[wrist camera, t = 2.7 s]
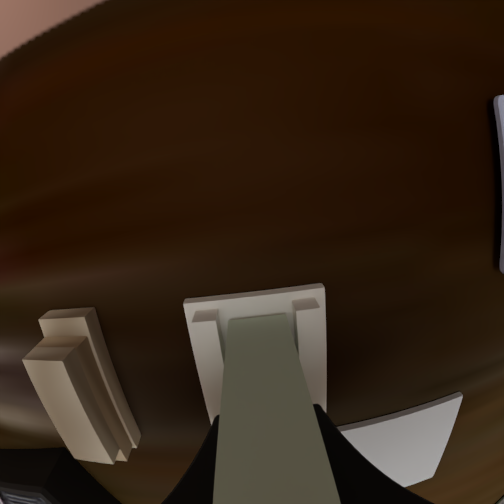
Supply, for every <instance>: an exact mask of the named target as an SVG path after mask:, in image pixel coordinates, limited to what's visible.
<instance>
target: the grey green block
mask: <svg viewBox="0 0 504 504" xmlns="http://www.w3.org/2000/svg"><path fill="white" fill-rule="evenodd" d="M213 504H341V502H340V499H339V495H338V491H337V488H336V484H335V481H334V477H333V474H332V470H331V467H330V463H329V459H328V456H327V452H326V449H325V445H324V442H323V438H322V435H321V431H320V428H319V425H318V421H317V418H316V414H315V411H314V407H313V404H312V400H311V397H310V394H309V390H308V387H307V383H306V380H305V377H304V373H303V370H302V366H301V363H300V360H299V356H298V353H297V350H296V346H295V343H294V340H293V336H292V333H291V330H290V326H289V323H288V320H287V316H286V314H281V315H273V316H265V317H256V318H247V319H238V320H228V329H227V339H226V350H225V361H224V372H223V383H222V394H221V406H220V417H219V429H218V441H217V454H216V467H215V480H214V493H213Z"/></svg>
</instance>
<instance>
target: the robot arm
mask: <svg viewBox="0 0 504 504" xmlns="http://www.w3.org/2000/svg"><path fill="white" fill-rule="evenodd" d="M494 110H495V117H496V124H497V131H498V140H499V150H500V162H501V179H502V236H501V253H500V271H501V272H502V273H503V274H504V95H499V96H496V97H495V98H494ZM313 407H314V411H315V414H316V418H317V421H318V425H319V428H320V431H321V435H322V438H323V442H324V445H325V449H326V452H327V456H328V459H329V463H330V467H331V470H332V474H333V477H334V481H335V484H336V488H337V491H338V495H339V499H340V502H341V504H434V503H432V502H430V501H428V500H426V499H424V498H422V497H420V496H418V495H417V494H415V493H413V492H411V491H409V490H407V489H406V488H404V487H403V486H401V485H400V484H398V483H397V482H395V481H394V480H392V479H391V478H389V477H388V476H387V475H385V474H384V473H383V472H381V471H380V470H379V469H378V468H376V467H375V466H374V465H373V464H372V463H371V462H369V461H368V460H367V459H366V458H365V457H364V456H363V455H362V454H361V453H360V452H359V451H358V450H357V449H356V448H355V447H354V446H353V445H352V444H351V443H350V442H349V441H348V440H347V439H346V438H345V437H344V436H343V434H342V433H341V432H340V431H339V430H338V428H337V427H336V426H335V425H334V424H333V422H332V421H331V420H330V418H329V417H328V416H327V414H326V413H325V411H324V410H323V408H322V407H321V405H319V404H318V403H317V404H313ZM219 417H220V415H217V416H216V417H215V418H214V420H213V423H212V425H211V428H210V430H209V432H208V434H207V436H206V438H205V440H204V442H203V444H202V446H201V448H200V450H199V451H198V453H197V455H196V457H195V458H194V460H193V462H192V463H191V465H190V467H189V468H188V470H187V471H186V472H185V474H184V475H183V477H182V478H181V480H180V481H179V483H178V484H177V485H176V487H175V488H174V489H173V490H172V492H171V493H170V494H169V495H168V497H167V498H166V499H165V500H164V501H163V502H162V503H161V504H213V493H214V480H215V467H216V454H217V441H218V429H219Z"/></svg>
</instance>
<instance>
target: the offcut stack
mask: <svg viewBox="0 0 504 504" xmlns="http://www.w3.org/2000/svg"><path fill="white" fill-rule="evenodd" d="M38 320H39V323H40V326H41V329H42V331H43V334H44V337H45V338H44V339H43V340H42V341H41V342H40V343H38V344H37V345H36V346H35V347H34V348H33V349H32V350H31V351H30V352H29V353H28V354H27V355H26V356H25V357H24V358H23V359H22V360H23V363H24V365H25V367H26V370H27V372H28V374H29V376H30V379H31V381H32V383H33V385H34V387H35V389H36V391H37V393H38V395H39V397H40V399H41V401H42V403H43V405H44V407H45V409H46V411H47V413H48V415H49V416H50V418H51V420H52V422H53V424H54V425H55V427H56V429H57V431H58V432H59V434H60V436H61V437H62V439H63V441H64V442H65V444H66V446H67V447H68V449H69V450H70V452H71V453H72V455H73V457H74V458H75V459H79V460H86V461H92V462H100V463H107V464H114V462H115V460H119V461H127V460H128V457H129V454H130V451H131V448H137V446H138V443H139V440H140V437H141V433H140V431H139V429H138V426H137V424H136V422H135V420H134V417H133V415H132V413H131V410H130V408H129V405H128V403H127V401H126V398H125V396H124V393H123V391H122V388H121V385H120V383H119V380H118V377H117V375H116V372H115V369H114V367H113V364H112V361H111V358H110V355H109V352H108V349H107V346H106V343H105V340H104V337H103V334H102V331H101V327H100V324H99V321H98V317H97V314H96V310H95V307H89V308H76V309H62V310H50V311H48V312H47V313H46V314H45V315H43V316H42V317H41V318H40V319H38Z"/></svg>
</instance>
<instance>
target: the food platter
mask: <svg viewBox="0 0 504 504" xmlns="http://www.w3.org/2000/svg"><path fill="white" fill-rule="evenodd" d="M0 499H1V500H0V504H121V503H120V502H119V501H118V500H117V499H116V498H115V497H113V496H112V495H111V494H110V493H109V492H108V491H107V490H106V489H105V488H104V487H103V486H102V485H100V484H99V483H98V482H97V481H96V480H95V479H94V478H93V477H92V476H91V475H90V474H89V473H88V472H87V471H86V470H85V469H84V468H83V467H82V466H81V465H80V463H79V462H78V461H77V460H76V459H75V458H74V457H73V456H72V455H71V454H70V453H69V452H68V450H67V449H66V448H65V447H62V448H45V449H0Z"/></svg>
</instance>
